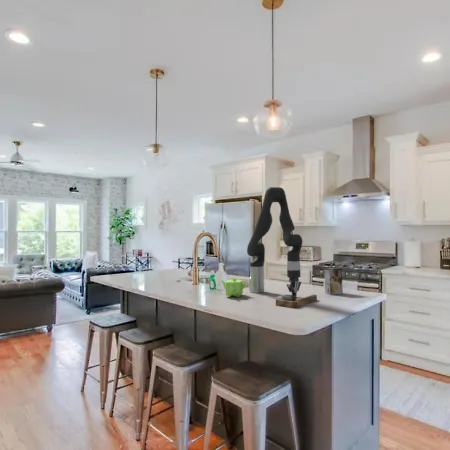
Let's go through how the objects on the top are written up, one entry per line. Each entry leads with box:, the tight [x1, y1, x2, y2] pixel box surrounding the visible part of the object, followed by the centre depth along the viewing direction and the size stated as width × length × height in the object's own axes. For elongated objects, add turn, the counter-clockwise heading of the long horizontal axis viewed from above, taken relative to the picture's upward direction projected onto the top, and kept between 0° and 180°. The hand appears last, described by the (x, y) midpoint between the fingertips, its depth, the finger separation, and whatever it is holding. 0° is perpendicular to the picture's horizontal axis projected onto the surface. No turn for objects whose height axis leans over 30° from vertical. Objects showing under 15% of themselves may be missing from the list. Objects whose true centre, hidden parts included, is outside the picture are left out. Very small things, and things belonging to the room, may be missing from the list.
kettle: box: [219, 277, 248, 298], centre depth 216 cm, size 15×14×11 cm
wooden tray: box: [275, 294, 318, 309], centre depth 192 cm, size 12×26×3 cm, turn 140°
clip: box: [281, 294, 296, 301], centre depth 189 cm, size 6×5×4 cm
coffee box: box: [323, 267, 343, 296], centre depth 218 cm, size 9×6×16 cm
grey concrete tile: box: [274, 294, 283, 300], centre depth 206 cm, size 10×8×1 cm
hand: (294, 299), depth 195 cm, fingers closed
